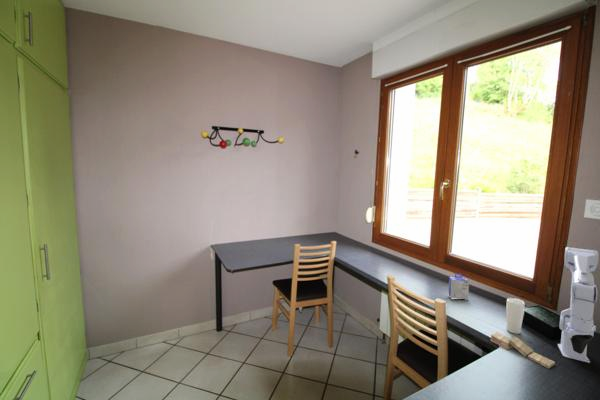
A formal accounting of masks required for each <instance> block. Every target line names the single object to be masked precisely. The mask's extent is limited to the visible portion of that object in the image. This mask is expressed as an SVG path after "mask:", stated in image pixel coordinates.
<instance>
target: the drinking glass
mask: <svg viewBox="0 0 600 400" xmlns="http://www.w3.org/2000/svg"><path fill="white" fill-rule="evenodd" d="M505 305H506V307H505V310H506V311H505V312H506V313H505V315H506V330H507V331H508V332H509V333H511V334H514V335H515V334H516V335H519V334H521V332H522V324H523V320H524V316H525V301H523V300H521V299H519V298H513V297H508V298H507V299H506V304H505Z"/></svg>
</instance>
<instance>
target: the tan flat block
mask: <svg viewBox="0 0 600 400" xmlns="http://www.w3.org/2000/svg"><path fill="white" fill-rule="evenodd" d="M510 339H511V340H510V341H509V342H508V343H510V344H511V345H512V346H513V347H512V348H515V350H516V351H518V352H519V353H520V354H522V355H523V356H524V357H528V355H530V354H531V353H533V352H534V350H533V349H532V348H531V347H529V345H527V344H526V343H525V342H523V341H522V340H521V339H520V338H518V337H517V336H515V337H513V338H510Z"/></svg>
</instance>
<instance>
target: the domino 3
mask: <svg viewBox="0 0 600 400" xmlns="http://www.w3.org/2000/svg"><path fill="white" fill-rule="evenodd" d="M527 359H529V360H530V361H533V362H534V363H537V364H538V365H541V366H543V367H545V368H547V369H550V368H552V367H553V366H555V364H556V362H555V361H554V360H552V359H549V358H548V357H545V356H543V355H541V354H538V353H537V352H534V351H533V352H532V353H531V354H529V355H528V356H527Z"/></svg>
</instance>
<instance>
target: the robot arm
mask: <svg viewBox="0 0 600 400" xmlns="http://www.w3.org/2000/svg"><path fill="white" fill-rule="evenodd" d="M598 264H599V252H598V250H592V249H587V248H586V249H584V248H577V247H569V246H566V247H565V249H564V266H565V267H566V268H567V269H569V271H570V273H571V285H570V305H569V308H566V309H564V310H561V312H560V315H559V316H560V317H559V329H560V330H561V336H560V337H561V338H560V343H557V347H558V349H559V351H560V353H561V354H562V356H563V357H565V358H568V359H572V360H576V361H580V362H583V363H584V362H585V363H588V364H590V363H591V361H590V359H589V358H588V356H587V350H588V349H587V348H588V344H589V342H590V341H592V340H593V338H594V334H595V332H596V329H597V326H596V325H594V324H595V323H594V310H595V309H594V308H595V303H597V301H598V300H597V299H598V287H597V285H596V284H595V279H594V275H593V274H592V272H595V270H596V269H597V267H598Z"/></svg>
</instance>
